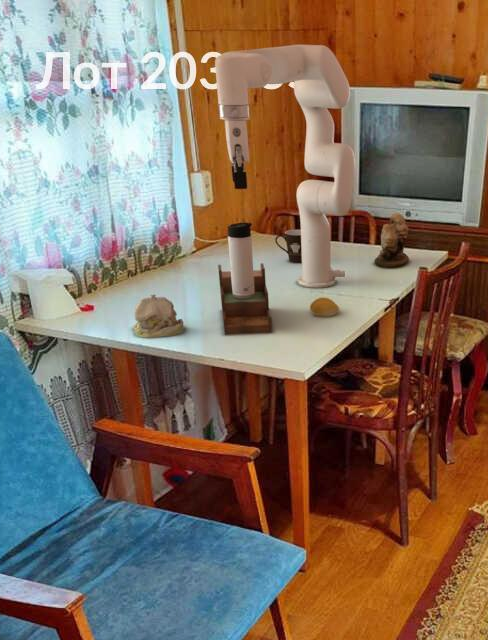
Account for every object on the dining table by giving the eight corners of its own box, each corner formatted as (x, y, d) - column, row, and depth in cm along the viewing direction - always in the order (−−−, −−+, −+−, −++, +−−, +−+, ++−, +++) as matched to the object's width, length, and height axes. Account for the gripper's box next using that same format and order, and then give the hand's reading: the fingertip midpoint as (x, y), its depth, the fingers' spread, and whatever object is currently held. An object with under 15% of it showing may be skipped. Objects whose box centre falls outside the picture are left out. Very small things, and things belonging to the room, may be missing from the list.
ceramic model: (130, 338, 200) (124, 302, 194) (134, 324, 209) (128, 289, 204) (183, 336, 202) (179, 300, 197) (185, 322, 211) (180, 287, 206)
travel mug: (251, 300, 207) (246, 226, 196) (229, 298, 208) (223, 224, 197) (259, 294, 212) (254, 221, 201) (237, 292, 213) (231, 219, 202)
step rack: (265, 308, 223) (263, 263, 216) (271, 332, 206) (269, 283, 199) (222, 310, 221) (218, 264, 214) (224, 334, 204) (220, 285, 196)
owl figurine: (383, 254, 279) (384, 206, 270) (413, 257, 276) (416, 209, 267) (369, 266, 265) (370, 216, 255) (401, 270, 262) (403, 219, 252)
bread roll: (316, 318, 217) (316, 305, 214) (307, 309, 224) (307, 296, 221) (343, 316, 219) (343, 302, 217) (333, 306, 226) (333, 293, 224)
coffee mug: (314, 260, 271) (313, 231, 265) (300, 265, 264) (299, 236, 259) (289, 255, 276) (288, 227, 270) (274, 260, 270) (273, 231, 264)
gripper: (251, 116, 181) (256, 191, 190) (246, 108, 195) (251, 178, 204) (220, 116, 179) (227, 192, 189) (218, 108, 193) (224, 179, 203)
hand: (239, 185), depth 197 cm, fingers open, 9 cm apart
